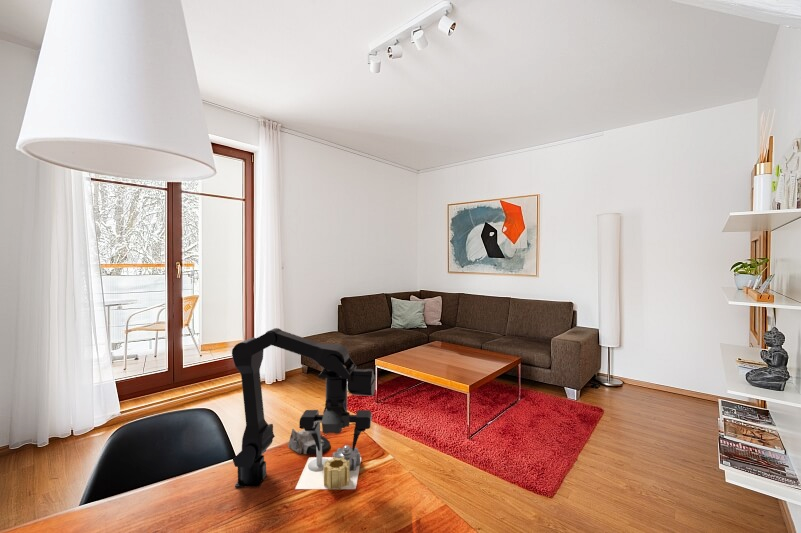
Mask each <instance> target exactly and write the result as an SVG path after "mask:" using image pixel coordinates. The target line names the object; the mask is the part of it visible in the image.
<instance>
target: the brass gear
mask: <svg viewBox="0 0 801 533" xmlns="http://www.w3.org/2000/svg"><path fill="white" fill-rule="evenodd" d="M332 457H333V456H332ZM349 480H350V462H349V460H348V461H346V460H345V457H342V458H335V457H333V459H331V460H329V461H327V460H326V461H325V466H324V486H325V485H327V486H328V489H327V490H329V491H330V490H335V489H334V488H338V489H337V490H339V491H340V490H342V489H341V487H343V486H345V485H346V486H347V485H348V484H349Z"/></svg>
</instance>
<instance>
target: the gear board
mask: <svg viewBox="0 0 801 533" xmlns="http://www.w3.org/2000/svg"><path fill="white" fill-rule="evenodd" d="M316 454H317V455H316V457H315V456H313V457H312V456H311V457H310V456H309V457H308V459H307V461H306V463H305V466H304V468H303V470H302V472H301V475H300V476H299V479H298V482H297V483H296V486H295V488H294V490H329V489H328V486H327V485H325V486H324V466H325V461H326V460H327V461H329V460H331V459H333V456H332V457H331V456H329V457H327V456H325V457H324V456H323V453H322V444H321V449H320V451H318V448H317V446H316ZM361 462H362V457H361V456H360V464H361ZM360 469H361V465H360V466H357V467H356V470H355V471H353V470H351V471H350V480H349V484H348V485H347V486H346V485H345V486H343V487H341V489H340V490H356V488H357V485H358V484H357V483H358V478H359V473H360ZM333 490H338V488H334V489H333Z"/></svg>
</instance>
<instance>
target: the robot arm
mask: <svg viewBox="0 0 801 533" xmlns="http://www.w3.org/2000/svg"><path fill="white" fill-rule="evenodd" d="M270 346H272V347H277V348H278V349H279V348H280V349H283V350H285V351H288V352H291V353H294V354H296V355H300V356H302V357H305V358H309V359H311V360H312V361H314V362H315V363H316V364H317V365H319V366H320V367H322V368H323V370H322V371H320V373H319V374H318V375H317V378H318V379H325V406H324V410H323V412H322V413H323V414H320V413H319V412H320V411H319V410H318V409H305V411H303V413H302V415H301V416H300V418H299V424H298V426H299V429H301V430H305V431H308V432H310V433H311V434H312V436H313V438H314V441H315V443H316V446H317V448H318V451H320V449H321V436H322V434H321V430H322V433H323V434H337V435H338V434H340V433H342V429H345V428H347V427H349V426H350V423H354V429H353V437H352V438H353V439H352V445H351V448H352V451H354V449H355V448H356V445H357V443H358V439H359V436H361V435H360V434H361V433H363V432H365V431H366V430H369V429H370V428H371V424H372V416H373V414H372V411H371V410H369V409H366V410H365V409H363V410H362V409H357V410H356V414H350V411H348V394H351V395H352V396H366V397H368V396H370V397H373V396H374V395H375V390H376V378H375V377H376V376H375V374H374V369H373V368H366V369H365V368H364V369H363V368H361V369H360V368H357V367H358V366H357V365H356V364H355V362H354V361H353V359H352V358H351V356H350V353H349V352H350V351H349V350H348V348H347V347H346V346H345V345H343V344H336V343H327V342H326V343H324V342H323V343H321V342H317V341H314V340H311V339H309V338H305V337H302V336H299V335H297V334H294V333H290V332H287V331H284V330H282V329H281V328H278V327H276V328H272V329H270V330H267V331H266V332H265V333H263V334H261V335H260V336H258V337H250V338H248V339H247V338H246V339H245V340H242V341H241V342H238V343H237V344H235V345H234V346H233V348H232V351H231V357H232V361H233V363H234V364H233V365H234V367H235V368H236V370H237V371H238V372H239V374H240V378H241V388H242V397H243V406H244V408H243V409H244V416H245V428H244V432H243V435H242V437H241V438H242V439H241V451H240V452H238V454H237V455H236V456H234V457H233V458H232V463H233V465H234V467H236V468H237V482H236V483H235V484H234V487H235V488H258V487H260V486H261V483H262V482H263V481H264V479H265V477H266V476H267V462H266V461H265V455H264V454H265V452H266V451H267V449H268V448H269V447H270V446H271V445H272V443H273V442H274V441H273V440H274V438H275V437H276V435H275V433H274V424H273V423H268V422H267V421H266V419H265V414H264V412H265V411H264V403H263V393H262V391H263V390H262V382H261V372H260V371H261V370H260V369H261V366H262V362H263V359H264V351H265V349H267V348H269V347H270Z"/></svg>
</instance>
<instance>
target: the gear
mask: <svg viewBox="0 0 801 533" xmlns="http://www.w3.org/2000/svg"><path fill="white" fill-rule="evenodd" d="M350 446H351V445H348V444H346V445H343V447H338V448H337V449H336V451H334V452H332V457H335V458H342V457H345V460H346V461H348V460H349V462H350V471H351V470H353V471H355V470H356V467H357V466H360V467H361V463H360V457H361V452H359V447H355V449H354V451H352V446H351V447H350Z"/></svg>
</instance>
